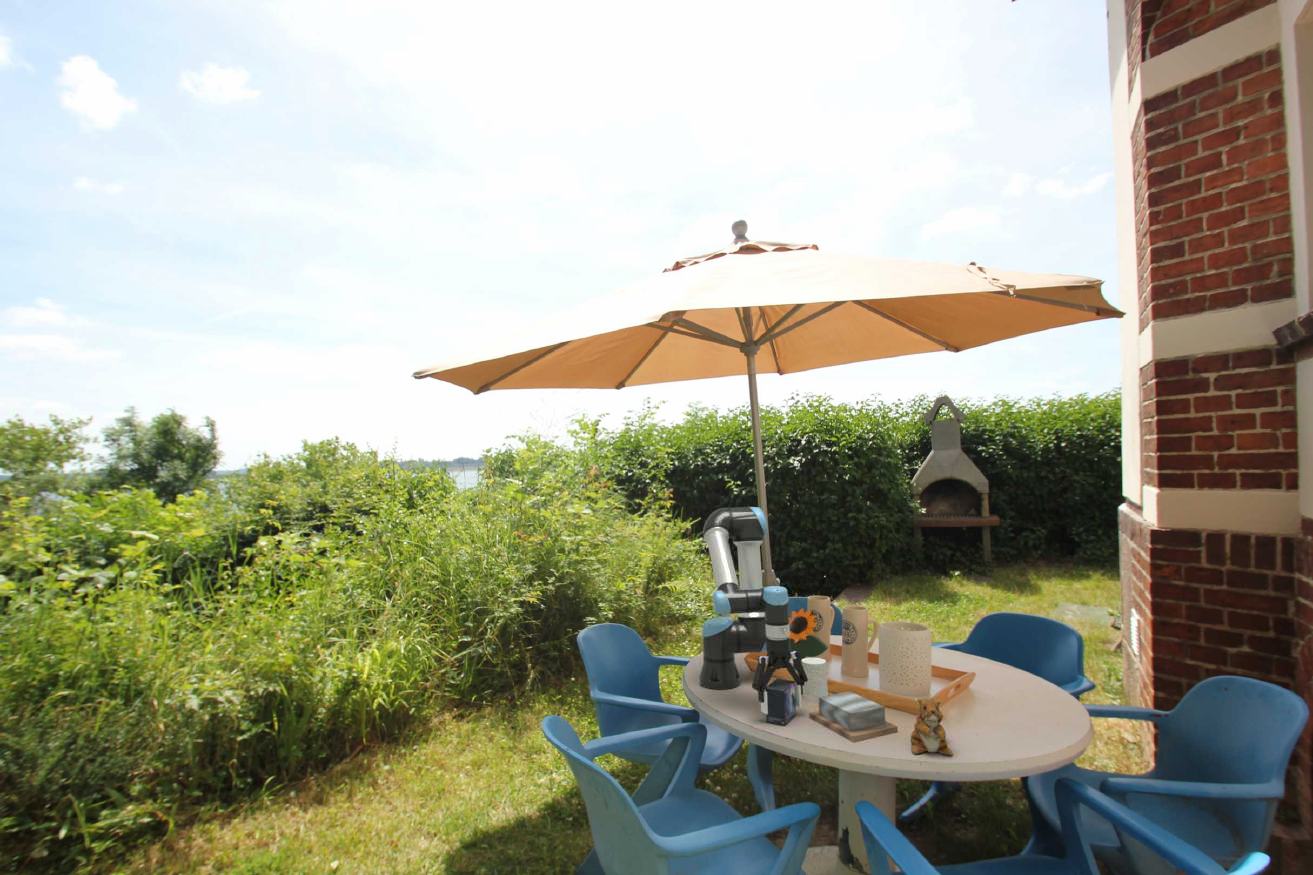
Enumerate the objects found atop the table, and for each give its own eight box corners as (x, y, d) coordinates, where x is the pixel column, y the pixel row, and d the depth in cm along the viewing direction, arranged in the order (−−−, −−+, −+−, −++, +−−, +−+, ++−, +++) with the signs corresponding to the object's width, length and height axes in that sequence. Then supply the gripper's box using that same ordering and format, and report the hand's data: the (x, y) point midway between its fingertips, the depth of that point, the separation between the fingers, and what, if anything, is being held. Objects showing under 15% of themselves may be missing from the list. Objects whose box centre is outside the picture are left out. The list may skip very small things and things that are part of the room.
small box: (786, 726, 173) (784, 690, 174) (765, 722, 176) (763, 687, 177) (797, 714, 182) (795, 680, 183) (777, 711, 185) (776, 677, 186)
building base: (809, 717, 179) (808, 695, 180) (850, 708, 185) (849, 687, 186) (853, 741, 161) (851, 717, 161) (897, 731, 167) (896, 708, 167)
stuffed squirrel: (912, 755, 151) (908, 703, 153) (906, 734, 165) (903, 686, 166) (954, 759, 148) (950, 706, 150) (945, 737, 162) (941, 688, 163)
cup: (800, 699, 195) (798, 662, 196) (806, 691, 202) (804, 656, 204) (825, 702, 191) (823, 665, 193) (830, 694, 198) (828, 658, 200)
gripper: (751, 644, 173) (754, 720, 171) (816, 635, 182) (820, 706, 180) (738, 639, 180) (741, 711, 178) (802, 630, 189) (806, 699, 187)
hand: (781, 709), depth 179 cm, fingers closed on small box, 12 cm apart
